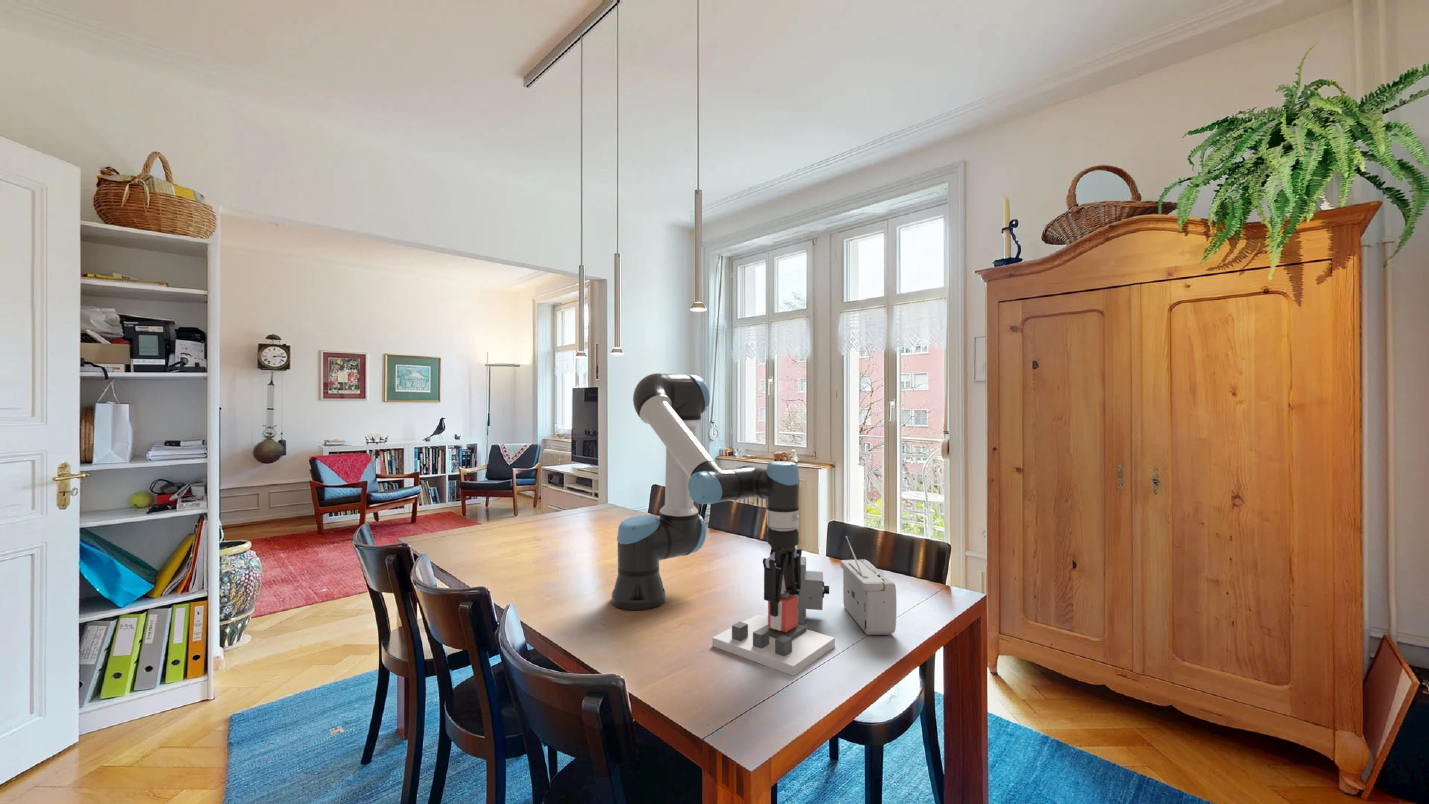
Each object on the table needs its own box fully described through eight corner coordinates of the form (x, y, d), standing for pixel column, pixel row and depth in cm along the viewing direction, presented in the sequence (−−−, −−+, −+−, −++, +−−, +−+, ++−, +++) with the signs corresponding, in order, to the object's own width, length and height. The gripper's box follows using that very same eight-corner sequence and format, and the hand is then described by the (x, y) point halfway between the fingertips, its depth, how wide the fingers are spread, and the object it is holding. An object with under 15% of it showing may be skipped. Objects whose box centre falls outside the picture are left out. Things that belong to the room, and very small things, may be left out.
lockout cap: (768, 626, 134) (768, 593, 134) (779, 620, 138) (779, 587, 138) (785, 632, 131) (785, 598, 131) (797, 625, 135) (797, 592, 135)
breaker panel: (712, 646, 132) (712, 624, 132) (757, 622, 145) (757, 602, 145) (793, 675, 117) (793, 651, 117) (834, 646, 131) (834, 624, 131)
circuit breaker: (829, 625, 143) (829, 566, 143) (772, 621, 146) (772, 563, 146) (829, 614, 151) (829, 558, 151) (775, 610, 154) (775, 555, 154)
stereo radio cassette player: (897, 637, 136) (897, 554, 136) (864, 638, 136) (864, 555, 136) (868, 605, 157) (868, 533, 157) (839, 606, 157) (839, 534, 156)
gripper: (774, 537, 125) (774, 642, 125) (816, 523, 139) (815, 617, 139) (747, 531, 130) (747, 633, 130) (789, 518, 144) (789, 610, 144)
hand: (782, 624), depth 134 cm, fingers closed on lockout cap, 5 cm apart
